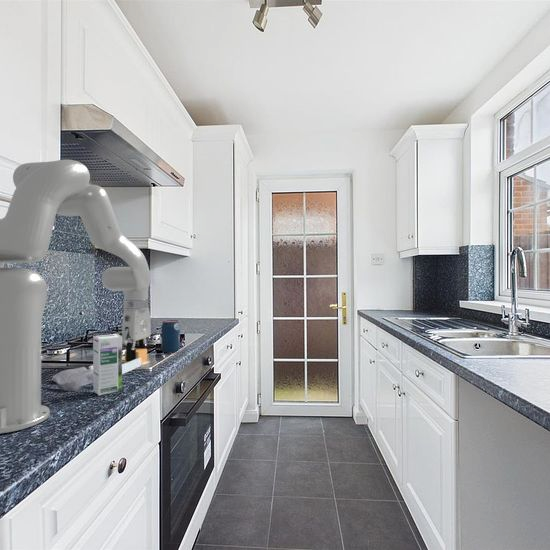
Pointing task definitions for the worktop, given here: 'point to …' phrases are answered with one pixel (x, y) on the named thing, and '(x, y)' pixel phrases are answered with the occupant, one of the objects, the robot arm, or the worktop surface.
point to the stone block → (74, 379)
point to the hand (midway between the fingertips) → (136, 358)
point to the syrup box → (107, 363)
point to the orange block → (140, 354)
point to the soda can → (170, 336)
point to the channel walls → (128, 365)
